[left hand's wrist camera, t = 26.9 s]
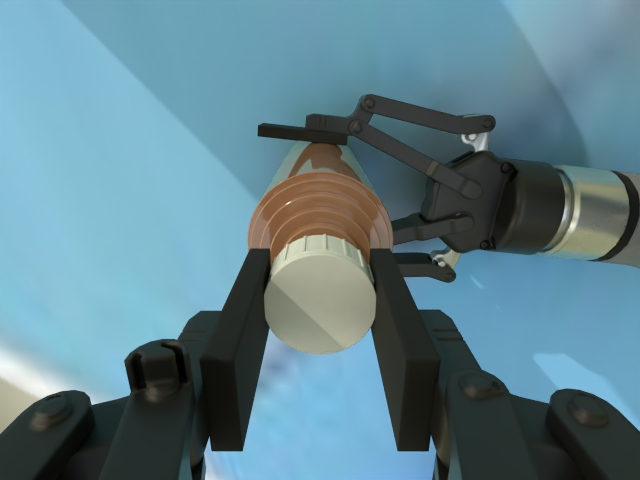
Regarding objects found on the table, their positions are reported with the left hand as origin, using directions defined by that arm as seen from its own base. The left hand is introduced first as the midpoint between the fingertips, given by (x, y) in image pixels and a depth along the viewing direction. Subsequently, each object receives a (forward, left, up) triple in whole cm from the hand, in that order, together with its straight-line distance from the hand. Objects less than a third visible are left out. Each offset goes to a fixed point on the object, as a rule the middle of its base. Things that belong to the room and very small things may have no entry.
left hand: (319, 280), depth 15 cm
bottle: (0, 0, -23) cm, 23 cm away
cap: (0, 0, +2) cm, 2 cm away
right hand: (-4, +2, -17) cm, 17 cm away
